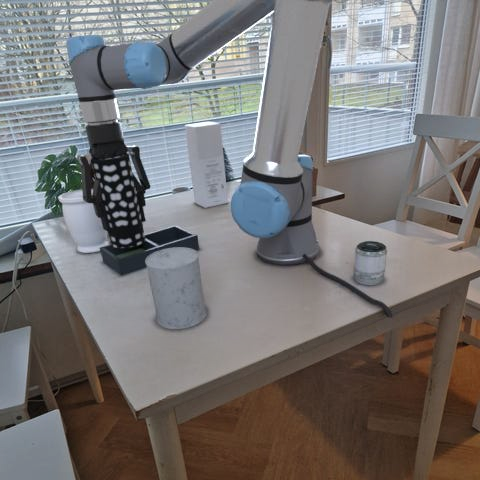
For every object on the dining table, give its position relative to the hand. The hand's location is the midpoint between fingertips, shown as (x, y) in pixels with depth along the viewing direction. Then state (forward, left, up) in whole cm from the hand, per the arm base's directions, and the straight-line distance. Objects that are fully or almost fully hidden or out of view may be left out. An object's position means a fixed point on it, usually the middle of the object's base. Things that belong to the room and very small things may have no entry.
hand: (124, 225), depth 103 cm
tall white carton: (+28, -42, -10) cm, 51 cm away
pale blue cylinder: (-32, +5, -10) cm, 34 cm away
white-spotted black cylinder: (0, 0, -5) cm, 5 cm away
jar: (+18, +4, -10) cm, 21 cm away
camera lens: (-47, -32, -10) cm, 58 cm away
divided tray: (0, -5, -10) cm, 11 cm away
